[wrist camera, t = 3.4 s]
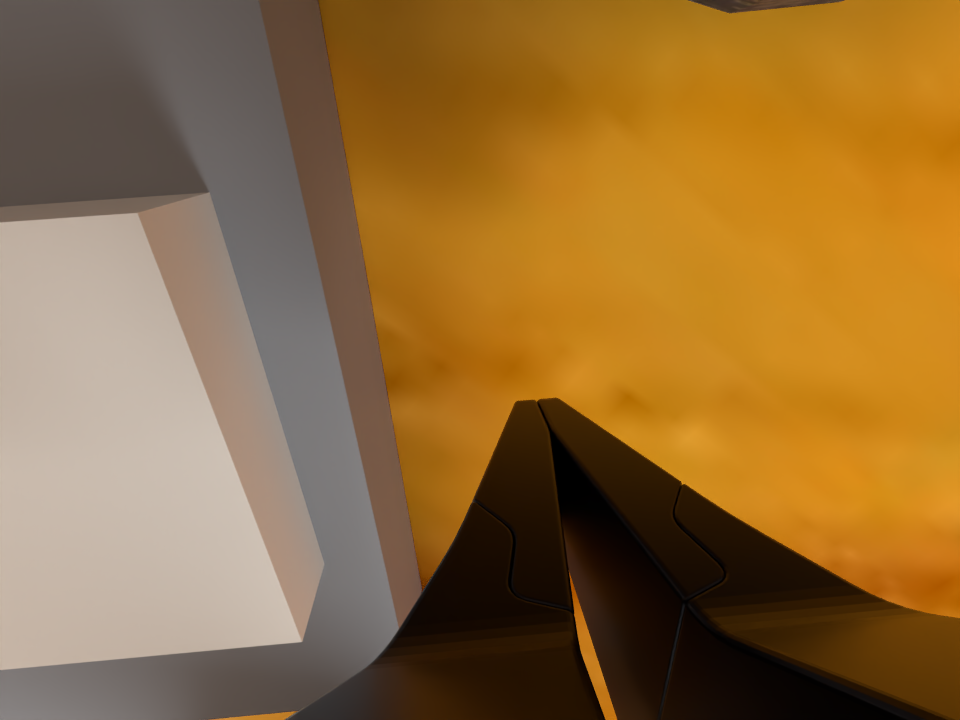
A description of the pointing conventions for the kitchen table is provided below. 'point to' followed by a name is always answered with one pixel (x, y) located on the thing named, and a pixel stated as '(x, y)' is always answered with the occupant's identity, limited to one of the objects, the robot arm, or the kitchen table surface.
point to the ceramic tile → (139, 443)
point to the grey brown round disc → (757, 4)
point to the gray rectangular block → (264, 289)
